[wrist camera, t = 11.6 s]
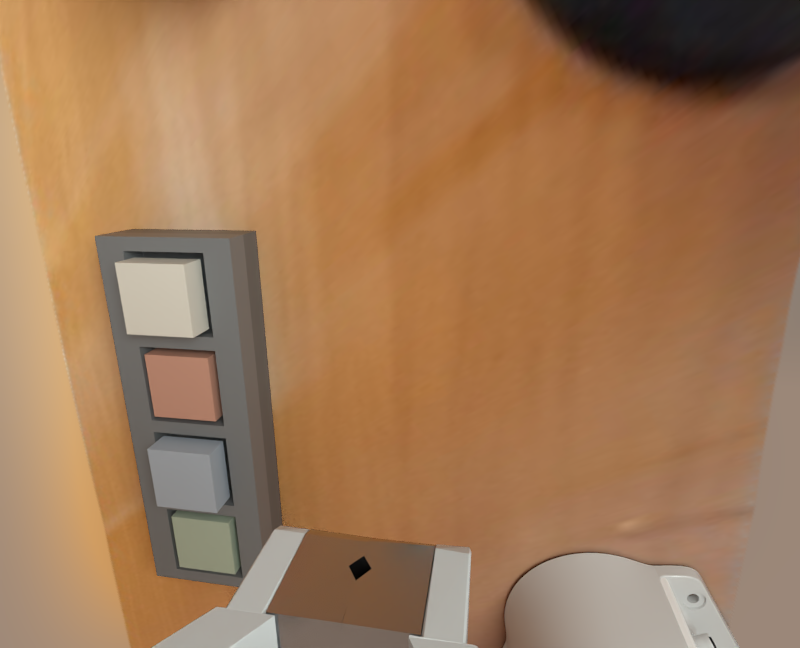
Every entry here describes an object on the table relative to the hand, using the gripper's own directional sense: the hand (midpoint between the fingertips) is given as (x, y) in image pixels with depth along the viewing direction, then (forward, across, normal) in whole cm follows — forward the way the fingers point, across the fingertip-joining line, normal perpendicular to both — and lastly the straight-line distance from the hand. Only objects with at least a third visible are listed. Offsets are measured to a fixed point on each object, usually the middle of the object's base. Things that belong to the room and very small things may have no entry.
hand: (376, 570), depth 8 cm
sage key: (+27, +20, +24) cm, 41 cm away
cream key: (+26, +20, +3) cm, 33 cm away
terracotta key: (+27, +20, +10) cm, 35 cm away
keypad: (+29, +20, +13) cm, 38 cm away
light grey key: (+25, +20, +17) cm, 37 cm away
